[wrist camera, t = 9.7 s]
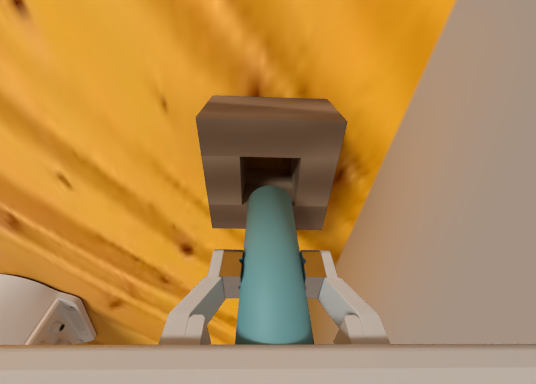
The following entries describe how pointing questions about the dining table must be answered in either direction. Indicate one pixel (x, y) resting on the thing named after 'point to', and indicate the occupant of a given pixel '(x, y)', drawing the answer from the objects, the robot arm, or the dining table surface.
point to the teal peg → (272, 275)
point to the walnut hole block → (269, 154)
